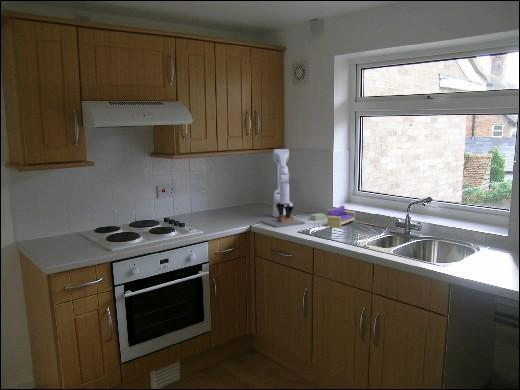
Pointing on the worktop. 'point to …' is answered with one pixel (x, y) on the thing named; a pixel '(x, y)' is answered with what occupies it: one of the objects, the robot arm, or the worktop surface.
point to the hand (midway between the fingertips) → (284, 216)
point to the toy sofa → (339, 217)
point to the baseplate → (279, 224)
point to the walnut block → (284, 218)
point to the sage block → (317, 217)
